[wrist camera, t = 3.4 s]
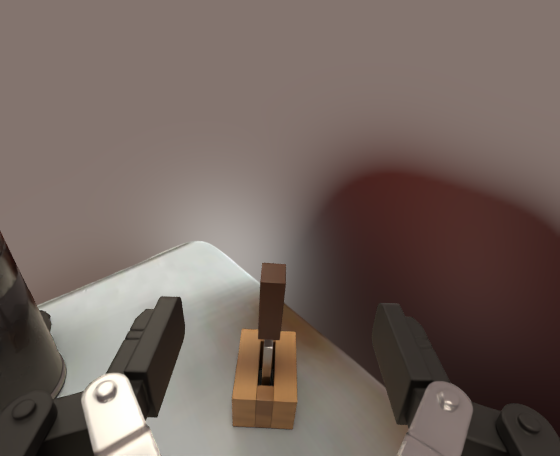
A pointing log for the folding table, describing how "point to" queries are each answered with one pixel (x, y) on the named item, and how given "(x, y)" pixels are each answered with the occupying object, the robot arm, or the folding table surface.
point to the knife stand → (258, 398)
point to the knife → (270, 311)
